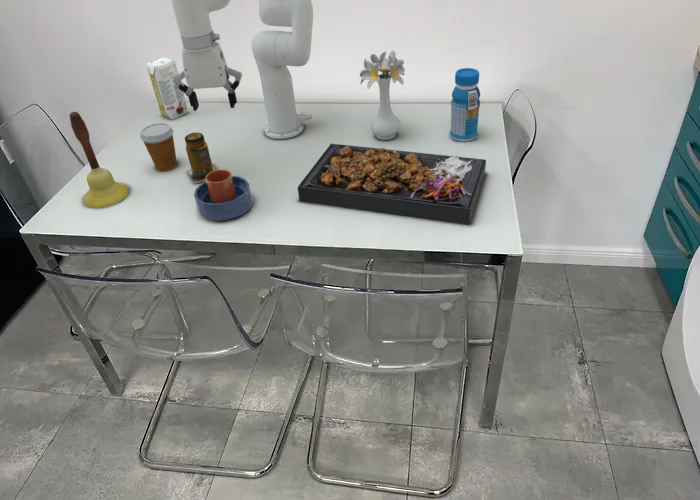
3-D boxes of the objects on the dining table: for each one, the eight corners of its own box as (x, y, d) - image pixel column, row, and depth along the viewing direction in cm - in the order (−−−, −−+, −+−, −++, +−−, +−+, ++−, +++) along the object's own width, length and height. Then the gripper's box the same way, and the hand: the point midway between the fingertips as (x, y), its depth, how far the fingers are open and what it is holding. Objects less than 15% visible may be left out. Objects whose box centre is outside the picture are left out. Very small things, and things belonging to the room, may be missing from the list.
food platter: (484, 173, 155) (488, 139, 148) (469, 224, 137) (471, 188, 130) (332, 156, 168) (328, 124, 162) (299, 201, 150) (294, 167, 144)
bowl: (242, 187, 158) (238, 169, 155) (260, 211, 148) (257, 193, 144) (192, 203, 153) (187, 185, 150) (208, 229, 143) (203, 211, 140)
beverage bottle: (447, 141, 171) (450, 76, 158) (451, 128, 177) (454, 65, 165) (475, 143, 168) (480, 78, 156) (479, 130, 175) (484, 67, 162)
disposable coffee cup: (174, 174, 166) (163, 137, 159) (145, 173, 168) (132, 136, 161) (187, 158, 174) (177, 122, 166) (159, 157, 175) (148, 121, 168)
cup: (233, 195, 154) (226, 166, 148) (241, 207, 149) (234, 177, 143) (209, 203, 151) (202, 174, 146) (217, 215, 147) (210, 185, 141)
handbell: (136, 184, 163) (107, 103, 148) (115, 208, 154) (82, 124, 138) (98, 183, 165) (65, 103, 150) (75, 207, 156) (37, 123, 140)
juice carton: (191, 112, 201) (177, 59, 189) (171, 121, 196) (155, 67, 184) (178, 107, 205) (164, 55, 193) (158, 116, 200) (142, 63, 188)
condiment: (212, 165, 169) (202, 128, 162) (219, 177, 163) (210, 139, 156) (188, 171, 167) (177, 134, 160) (194, 184, 161) (184, 146, 153)
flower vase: (407, 121, 183) (406, 43, 168) (403, 148, 169) (402, 66, 153) (367, 121, 185) (363, 44, 170) (360, 148, 171) (355, 67, 155)
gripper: (236, 32, 137) (250, 98, 148) (167, 37, 138) (185, 103, 149) (231, 43, 131) (245, 111, 142) (158, 48, 132) (178, 116, 143)
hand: (214, 107), depth 145 cm, fingers open, 9 cm apart
